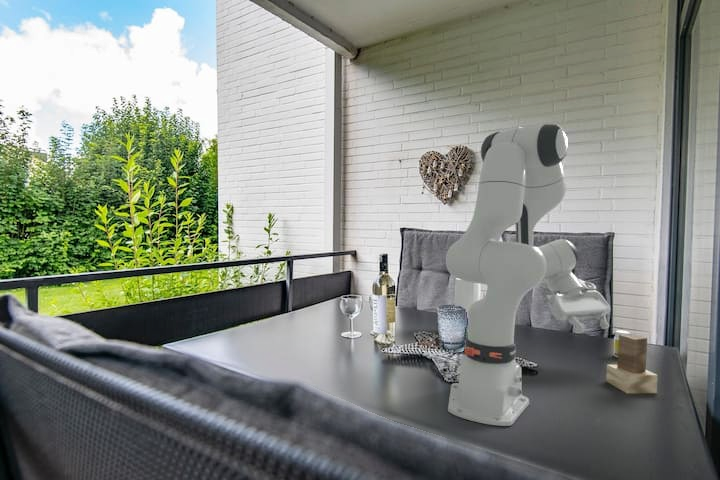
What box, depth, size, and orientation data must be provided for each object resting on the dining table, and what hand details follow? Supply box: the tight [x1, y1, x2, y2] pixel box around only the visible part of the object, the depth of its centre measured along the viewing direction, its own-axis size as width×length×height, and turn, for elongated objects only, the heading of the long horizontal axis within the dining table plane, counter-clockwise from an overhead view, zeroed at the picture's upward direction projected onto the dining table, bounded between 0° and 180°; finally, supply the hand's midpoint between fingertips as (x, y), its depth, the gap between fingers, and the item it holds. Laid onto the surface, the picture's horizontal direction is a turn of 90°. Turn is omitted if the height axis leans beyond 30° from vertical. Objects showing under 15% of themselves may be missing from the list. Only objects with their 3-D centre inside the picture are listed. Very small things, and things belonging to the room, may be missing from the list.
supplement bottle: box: [612, 329, 631, 358], centre depth 132 cm, size 5×5×8 cm
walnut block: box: [617, 333, 648, 373], centre depth 107 cm, size 4×4×9 cm
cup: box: [454, 277, 482, 318], centre depth 159 cm, size 10×10×22 cm
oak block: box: [605, 363, 658, 394], centre depth 107 cm, size 8×8×5 cm
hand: (594, 329), depth 117 cm, fingers open, 8 cm apart
